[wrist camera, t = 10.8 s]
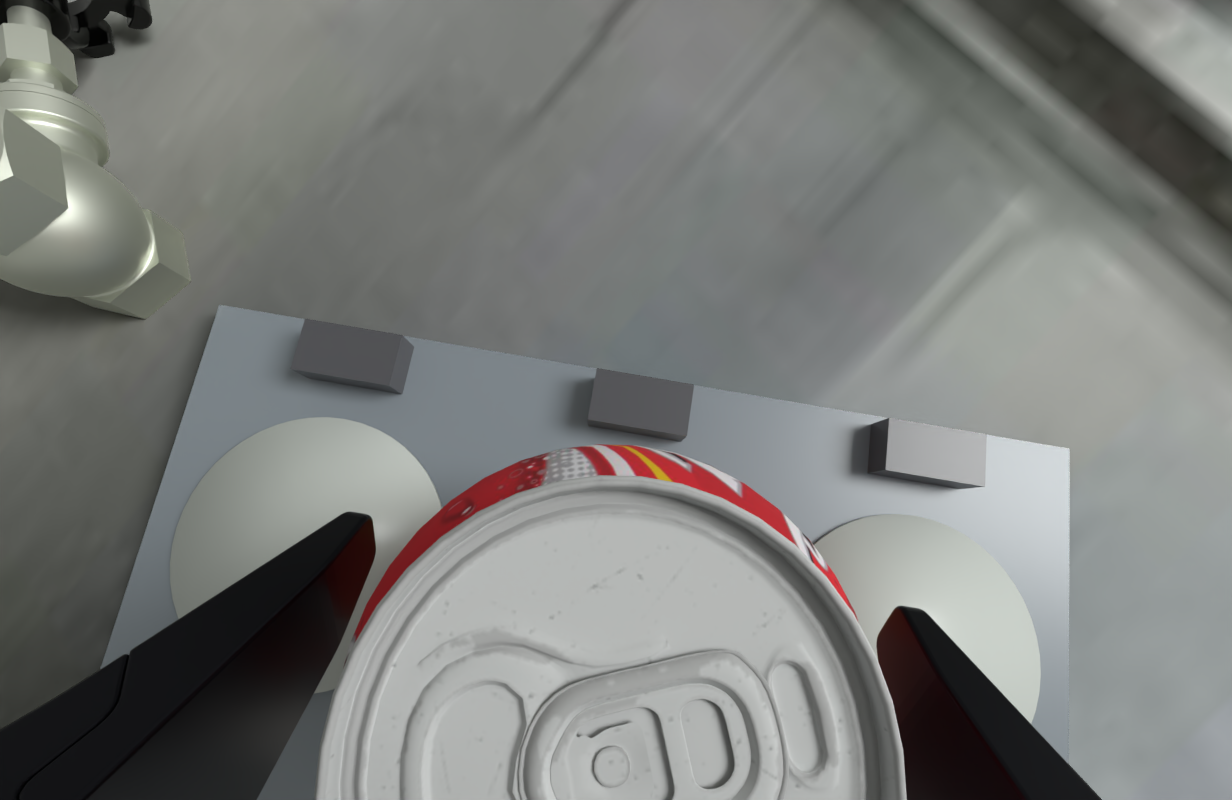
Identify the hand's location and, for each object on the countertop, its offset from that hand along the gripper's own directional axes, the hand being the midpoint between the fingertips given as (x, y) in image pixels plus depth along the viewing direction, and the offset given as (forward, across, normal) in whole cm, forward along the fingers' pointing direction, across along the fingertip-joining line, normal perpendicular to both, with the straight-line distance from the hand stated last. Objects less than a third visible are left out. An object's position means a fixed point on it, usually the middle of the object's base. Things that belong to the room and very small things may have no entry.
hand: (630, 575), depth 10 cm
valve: (+14, +20, 0) cm, 24 cm away
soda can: (+5, 0, +7) cm, 8 cm away
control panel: (+5, 0, +7) cm, 9 cm away
